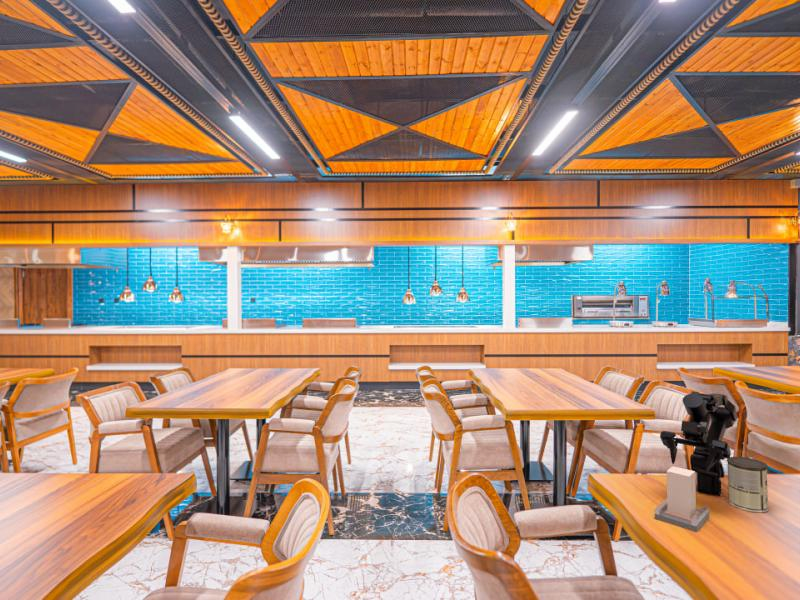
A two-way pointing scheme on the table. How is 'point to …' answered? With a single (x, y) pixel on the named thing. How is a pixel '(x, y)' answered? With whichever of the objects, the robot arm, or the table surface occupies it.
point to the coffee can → (747, 484)
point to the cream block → (681, 492)
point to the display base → (681, 521)
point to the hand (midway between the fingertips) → (689, 466)
